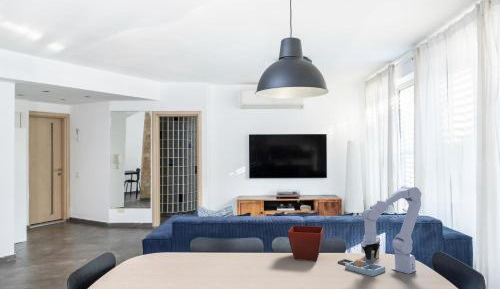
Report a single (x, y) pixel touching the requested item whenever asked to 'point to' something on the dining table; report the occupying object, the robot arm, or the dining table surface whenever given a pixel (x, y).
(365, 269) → the tray
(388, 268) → the dining table surface
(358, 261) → the ball
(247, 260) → the dining table surface
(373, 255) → the shaker
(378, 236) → the coffee cup
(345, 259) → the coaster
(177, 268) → the dining table surface
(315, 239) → the plant pot
